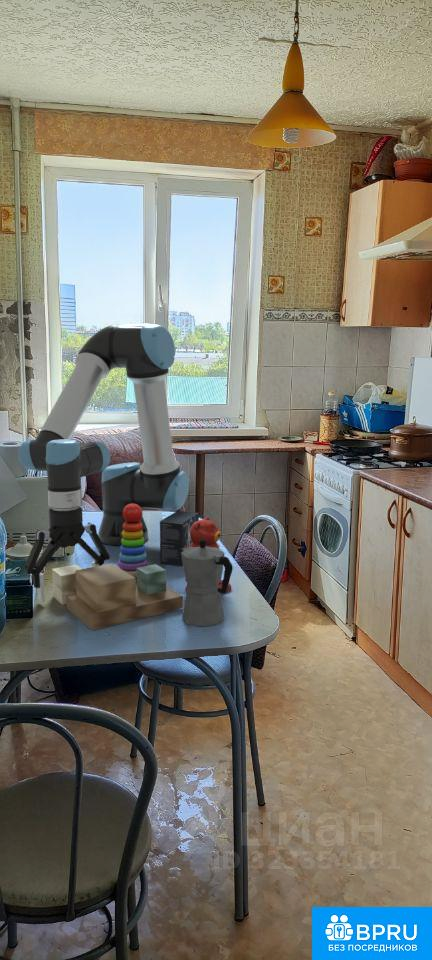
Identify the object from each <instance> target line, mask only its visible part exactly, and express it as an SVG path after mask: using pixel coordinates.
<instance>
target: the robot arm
mask: <svg viewBox="0 0 432 960" xmlns="http://www.w3.org/2000/svg"><path fill="white" fill-rule="evenodd" d="M175 356H176V346H175V343H174V339H173V337H172V334H171V333H170V331H169V330H168V328H167V327H166V326H163V325H162V324H152V323H133V324H112V325H111V324H110V325H107V326H105V327H104V328H102V329H100V330H98V331H97V332H95V333H94V334H93V335H92V336H91V337H90V338H89V339H88V340H87V341H86V342H85V343H84V344H83V346H82V347H81V349H79V352H78V353H77V356H76V357H75V367H74V369H73V370H72V373H71V374H70V376H69V378H68V380H67V381H66V383H65V385H64V387H63V389H62V390H61V393H59V395H58V398H57V399H56V402H55V404H54V405H53V407H52V408H51V410H50V413H49V414H48V416H47V418H46V419H45V422H44V423H43V426H42V427H41V429H40V431H39V432H38V434H37V436H36V438H35V439H27V440H25V441H23V442H22V443H21V444H20V447H19V449H18V460H19V463H20V465H21V466H22V467H23V468H25V469H27V470H31V471H35V472H36V471H37V472H46V476H47V497H48V498H47V499H48V504H47V505H48V507H49V509H48V518H49V519H48V521H49V523H48V524H49V529H48V530H47V531H46V530H43V531H42V530H40V529H37V530H36V531H35V540H34V543H33V545H32V547H31V550H30V552H29V555H28V557H27V559H26V562H25V565H24V566H23V571H24V572H26V573H27V574H28V575H32V585H33V584H34V586H33V587H34V588H35V589H36V591H37V592H36V593H37V599H38V601H39V602H41V603H45V602H46V597H45V596H46V595H45V577H44V574H43V573H42V571H43V570H44V568H46V565H47V564H48V563H49V561H50V560H51V558H52V557H53V555H54V554H55V553H56V552H57V551H58V550H59V549H60V548H62V549H65V548H68V547H76V545H79V546H80V547H81V549H82V550H84V552H86V553H87V554H88V555H89V557H91V558H92V560H94V561H91V567H96V566H101V565H105V564H104V563H105V561H107V560H110V558H111V556H110V554H109V552H108V550H107V549H106V547H105V545H110V546H121V545H122V543H121V540H122V538H123V536H122V531H123V530H124V529H123V524H124V523H125V522H127V521H126V520H125V519H124V517H123V509H124V508H125V506H127V505H128V504H137V505H139V506H140V507H141V509H142V510H143V509H151V510H158V511H159V510H160V511H163V512H165V511H173V512H174V511H175V512H176V511H179V510H180V509H181V508H182V507H183V505H184V504H185V502H186V500H187V498H188V496H189V495H188V494H189V489H190V477H189V475H188V473H187V472H186V471H183V470H182V471H181V468H180V467H181V465H180V461H178V460H176V459H175V458H174V451H173V442H172V433H171V425H170V418H169V408H168V399H167V393H166V390H167V389H166V382H165V378H166V377H167V376H168V374H169V373H170V370H169V368H171V367H172V366H173V365H174V362H175ZM118 368H121V369H123V368H124V369H125V373H126V378H128V379H129V380H130V381H131V382H132V385H133V390H134V397H135V398H134V399H135V404H136V412H137V419H138V420H137V422H138V426H139V427H138V428H139V434H140V441H141V450H142V457H143V462H142V463H140V462H138V461H137V462H133V461H132V462H124V463H117V464H112V465H110V462H111V452H110V449H109V448H108V446H107V445H106V444H104V443H103V442H101V441H89V442H79V441H78V440H76V439H73V438H72V436H73V434H74V433H75V431H76V429H77V426H78V425H79V423H80V421H81V419H82V418H83V415H84V414H85V412H86V409H87V407H88V406H89V403H90V402H91V400H92V398H93V396H94V394H95V393H96V390H97V388H98V386H99V384H100V383H101V380H102V379H105V378H107V377H108V375H109V373H110V372H111V371H112V370H113V369H118ZM71 438H72V439H71ZM100 472H101V491H102V492H101V493H102V495H101V496H102V518H101V522H100V526H99V529H98V533H97V526H96V524H94V523H92V522H88V523H87V524H83V523H84V522H83V508H82V507H81V506H82V504H83V501H82V500H83V499H82V497H83V496H82V478H84V477H87V476H89V475H94V474H99V473H100ZM143 515H144V514H142V518H141V519H140V520H139V522H141V523H142V525H143V527H142V529H141V530H142V531H143V536H142V537H143V538H144V540H145V542H146V541H147V540H148V539H149V530H148V526H147V524H146V521H145V518H144V516H143ZM85 532H86V533H87V534H88V535H89V537H90V539H91V541H92V542H93V544H94V546H95V547H96V549H97V551H98V552H99V554H100V555H99V554H98V553H97V552H96V551H95V550H94V549H93V548H92V547H91V546H90V545H89V544H88V543H87V542H86V541H85V540H84V539H83V538H82V536H83V535H84V533H85ZM48 538H50V539H51V540H50V541H49V543H47V547H46V548H45V549H44V551H43V552H42V549H43V547H44V544H45V542H46V541H47V539H48ZM41 552H42V554H41Z"/></svg>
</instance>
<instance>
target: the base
mask: <svg viewBox="0 0 432 960" xmlns="http://www.w3.org/2000/svg"><path fill="white" fill-rule="evenodd" d="M75 572H76V593H75V594H70V595H66V604H65V605H66V609H67V611H70V612H71V614H73V615H74V616H75V617H76V618H77V619H79V620H80V621H81V622H82V623H83V624H85V626H86V627H88V628H89V629H90V630H91V631H96V630H101V629H105V628H109V627H113V626H117V625H120V624H125V623H129V622H132V621H133V622H134V621H137V619H138V620H140V619H141V618H142V619H146V618H150V617H153V616H157V615H161V614H166V613H170V612H174V611H178V610H181V609H182V610H183V609H184V595H182V594H181V593H179V592H177V591H176V590H174V589H173V588H171V587H169V586H168V585H167V570H166V569H165V568H163V567H161V566H159V565H158V564H156V563H155V564H151V565H150V564H149V565H146V566H144V567H139V568H137V578H135V577H133V576H131V575H130V574H128V573H127V572H125V571H123V570H122V569H120V568H119V566H117V565H116V564H114V563H107V564H102V565H101V566H96V567H92V566H91V567H87V568H82V569H80V570H75ZM142 619H141V620H142ZM128 621H129V622H128Z"/></svg>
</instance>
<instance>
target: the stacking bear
mask: <svg viewBox="0 0 432 960" xmlns="http://www.w3.org/2000/svg"><path fill="white" fill-rule="evenodd" d="M190 537H191V540H192V543H191V544H190V546H189V547H200V544H199V540H200V539H205V540H206V546H205V547H213V548H219V549H220V545H219V544H218V543H217V542H218V541H219V539H220V538H221V531H220V529H219V528H218V526H217V524H215V523H214V522H213V521H212V520H210V518H209V517H205V518H204V519H199V521H196V522H195V523H193V524H192V526H191V528H190ZM220 550H221V549H220ZM223 572H224V566H223V567H222V574H221V578H222V576H223ZM222 581H223V579H221V581H220V582H219V583H218V588H220V589H222ZM184 590H185V592H186V591H187V590H188V584H187V583H186V585H185V589H184ZM231 590H232V585H231V583H230V582H229V584H228V587H227V591H226V593H227V592H229V591H231Z"/></svg>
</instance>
